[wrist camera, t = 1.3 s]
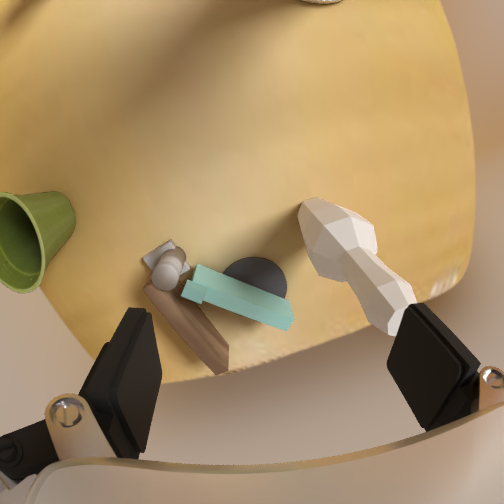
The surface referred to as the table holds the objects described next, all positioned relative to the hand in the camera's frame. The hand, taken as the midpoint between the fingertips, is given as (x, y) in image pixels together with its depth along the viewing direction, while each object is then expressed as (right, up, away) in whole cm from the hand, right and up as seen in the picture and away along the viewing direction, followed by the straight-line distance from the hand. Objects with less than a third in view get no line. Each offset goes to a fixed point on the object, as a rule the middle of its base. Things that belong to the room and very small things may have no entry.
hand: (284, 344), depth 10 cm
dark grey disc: (-1, -2, +29) cm, 29 cm away
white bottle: (+7, +8, +26) cm, 28 cm away
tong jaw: (-3, -1, +28) cm, 28 cm away
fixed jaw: (-9, -3, +29) cm, 31 cm away
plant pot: (-28, +8, +24) cm, 38 cm away
